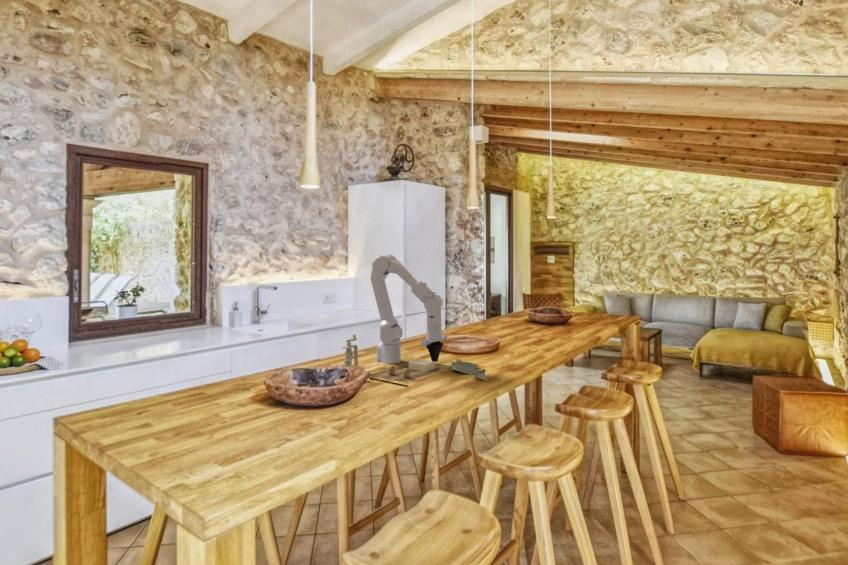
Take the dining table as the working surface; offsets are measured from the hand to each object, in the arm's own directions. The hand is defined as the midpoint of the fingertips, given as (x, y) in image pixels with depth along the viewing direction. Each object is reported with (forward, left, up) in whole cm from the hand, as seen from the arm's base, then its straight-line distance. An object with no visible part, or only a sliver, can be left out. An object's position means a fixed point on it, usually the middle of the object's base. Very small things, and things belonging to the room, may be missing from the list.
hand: (434, 361), depth 190 cm
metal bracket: (+16, -1, -3) cm, 16 cm away
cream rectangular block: (0, -8, -1) cm, 8 cm away
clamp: (-19, -28, -3) cm, 34 cm away
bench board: (-2, -14, -3) cm, 14 cm away
